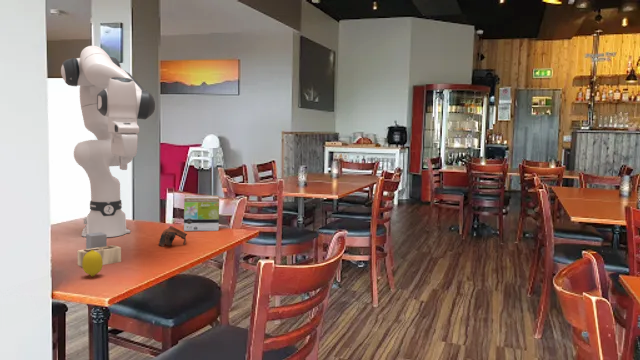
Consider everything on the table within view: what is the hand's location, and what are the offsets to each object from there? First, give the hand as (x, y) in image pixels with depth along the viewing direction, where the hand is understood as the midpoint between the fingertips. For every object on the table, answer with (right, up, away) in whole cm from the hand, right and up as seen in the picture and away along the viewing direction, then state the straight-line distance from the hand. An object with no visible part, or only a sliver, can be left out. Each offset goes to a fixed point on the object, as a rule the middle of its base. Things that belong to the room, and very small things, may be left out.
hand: (123, 169), depth 170 cm
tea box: (+12, -26, +59) cm, 66 cm away
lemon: (-3, -32, -17) cm, 36 cm away
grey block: (-11, -30, +6) cm, 32 cm away
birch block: (-3, -28, +3) cm, 28 cm away
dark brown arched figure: (+8, -29, +27) cm, 40 cm away
